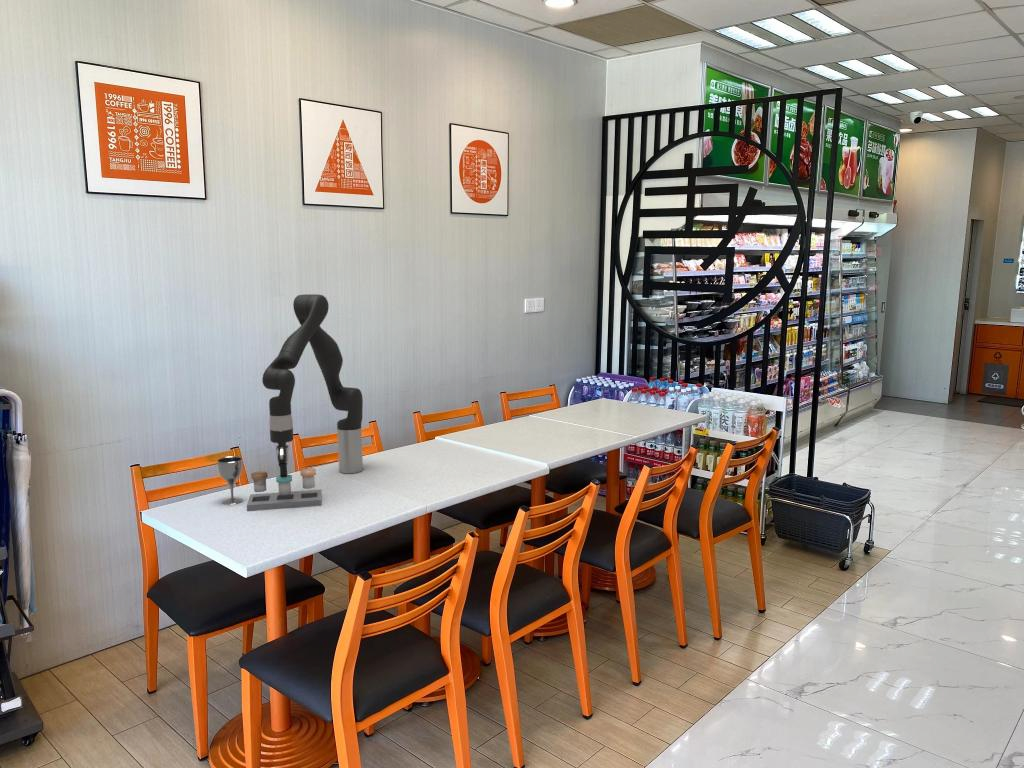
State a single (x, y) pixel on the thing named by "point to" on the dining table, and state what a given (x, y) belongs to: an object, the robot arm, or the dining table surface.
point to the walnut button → (259, 481)
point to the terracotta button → (308, 477)
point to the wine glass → (230, 475)
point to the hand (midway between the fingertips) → (283, 476)
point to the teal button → (284, 484)
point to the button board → (284, 500)
